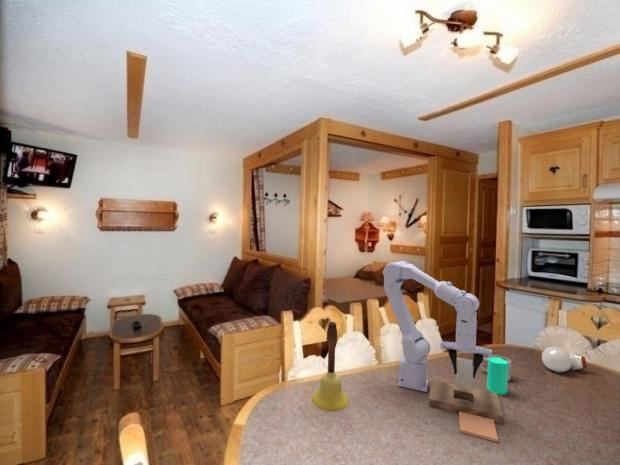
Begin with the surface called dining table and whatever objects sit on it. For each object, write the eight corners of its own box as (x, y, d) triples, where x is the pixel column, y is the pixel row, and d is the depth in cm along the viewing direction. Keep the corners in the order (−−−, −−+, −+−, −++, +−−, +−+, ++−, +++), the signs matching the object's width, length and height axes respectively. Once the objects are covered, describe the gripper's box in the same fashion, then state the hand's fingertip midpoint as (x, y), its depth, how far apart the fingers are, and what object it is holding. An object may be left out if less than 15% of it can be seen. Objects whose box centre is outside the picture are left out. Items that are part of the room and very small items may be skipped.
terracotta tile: (459, 432, 84) (460, 429, 84) (458, 413, 92) (458, 411, 92) (498, 442, 80) (498, 439, 80) (493, 422, 89) (493, 419, 89)
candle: (510, 395, 103) (511, 360, 102) (490, 393, 104) (491, 358, 104) (502, 386, 109) (504, 353, 108) (484, 384, 110) (485, 351, 110)
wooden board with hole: (428, 405, 96) (429, 398, 96) (430, 385, 108) (431, 379, 108) (503, 423, 88) (503, 416, 88) (496, 400, 100) (496, 393, 100)
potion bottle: (540, 373, 122) (573, 376, 124) (560, 368, 114) (596, 371, 116) (531, 348, 128) (564, 352, 129) (550, 343, 120) (584, 346, 121)
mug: (510, 375, 117) (511, 358, 117) (510, 382, 111) (511, 364, 111) (480, 368, 122) (481, 351, 122) (479, 375, 117) (480, 357, 117)
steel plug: (456, 387, 97) (457, 363, 96) (455, 381, 101) (456, 357, 101) (472, 391, 95) (473, 366, 95) (471, 384, 99) (472, 360, 99)
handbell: (342, 387, 106) (343, 315, 105) (355, 408, 94) (357, 327, 93) (307, 391, 103) (309, 317, 102) (316, 413, 91) (318, 330, 90)
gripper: (440, 332, 97) (439, 375, 97) (494, 341, 91) (492, 386, 91) (441, 326, 103) (439, 365, 104) (491, 333, 97) (489, 375, 98)
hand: (464, 374), depth 98 cm, fingers closed on steel plug, 4 cm apart
